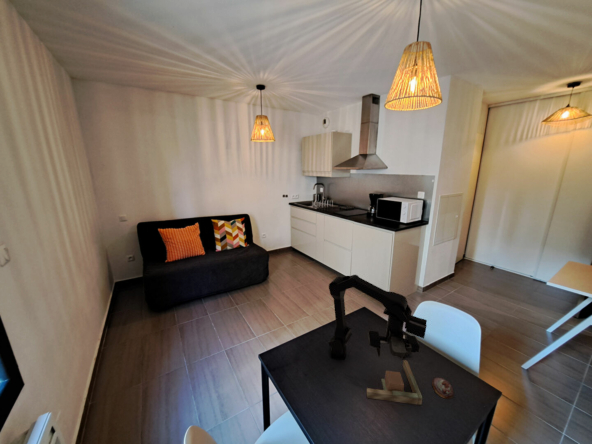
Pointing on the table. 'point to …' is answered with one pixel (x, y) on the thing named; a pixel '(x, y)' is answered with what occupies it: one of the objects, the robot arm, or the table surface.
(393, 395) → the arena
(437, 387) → the pastry
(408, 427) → the table surface
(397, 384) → the cube
